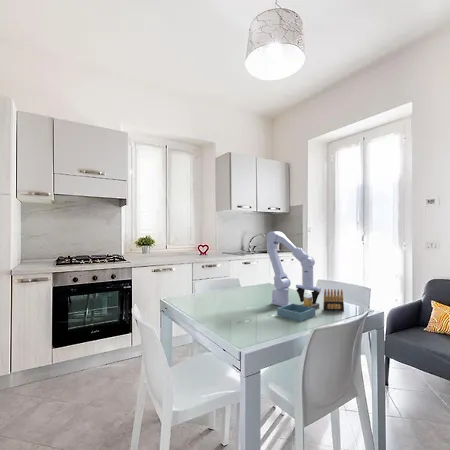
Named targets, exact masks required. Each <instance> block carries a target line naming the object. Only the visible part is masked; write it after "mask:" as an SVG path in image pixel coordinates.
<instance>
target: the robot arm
mask: <svg viewBox="0 0 450 450" xmlns="http://www.w3.org/2000/svg"><path fill="white" fill-rule="evenodd" d="M279 244H282V245H284V246H285V247H286V248H287V249H289V251H291V253H292V256H293V257H294V258H295V259H296V260H298V261H299V263H300V265H301V268H302V284H295V289H296V292H297V294H298V296H299V300H300V303H304V297H305V292H306V291H305V290H307V291H311V292H310V293H311V297H312V302H313V304H316V303H317V300H318V298H319V295H320V294H321V292H322V289H321V287H318V286H314V266H315V264H316V262H315V259H314V258H313V257H312V256H309V253H308V254H307V253H306V252H305V251H304V249H303V248H302V247H301V248H300V247H296V245H295V244H293V243H292V242H291V240H290V239H289V238H288V237H287V236H286V234H285V233H283V232H282V231H280V230H279V231H278V230H277V231H269V232H268V233H267V235H266V247H265V248H266V250H267V253H268V256H269V259H270V262H271V267H272V269H273V273H274V276H273V280H274V281H273V286H274V289H272V293H271V304H272V305H276V306H280V307H283V306H286V305H289V304H292V303H291V302H289V299H290V298H289V297H290V296H289V288H290V286H291V280H290V278H289V277H288V274H286V273H285V272H284V269H283V266H282V262H281V259H280V256H279V252H278V250H277V247H278V245H279ZM271 304H270V305H271Z"/></svg>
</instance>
